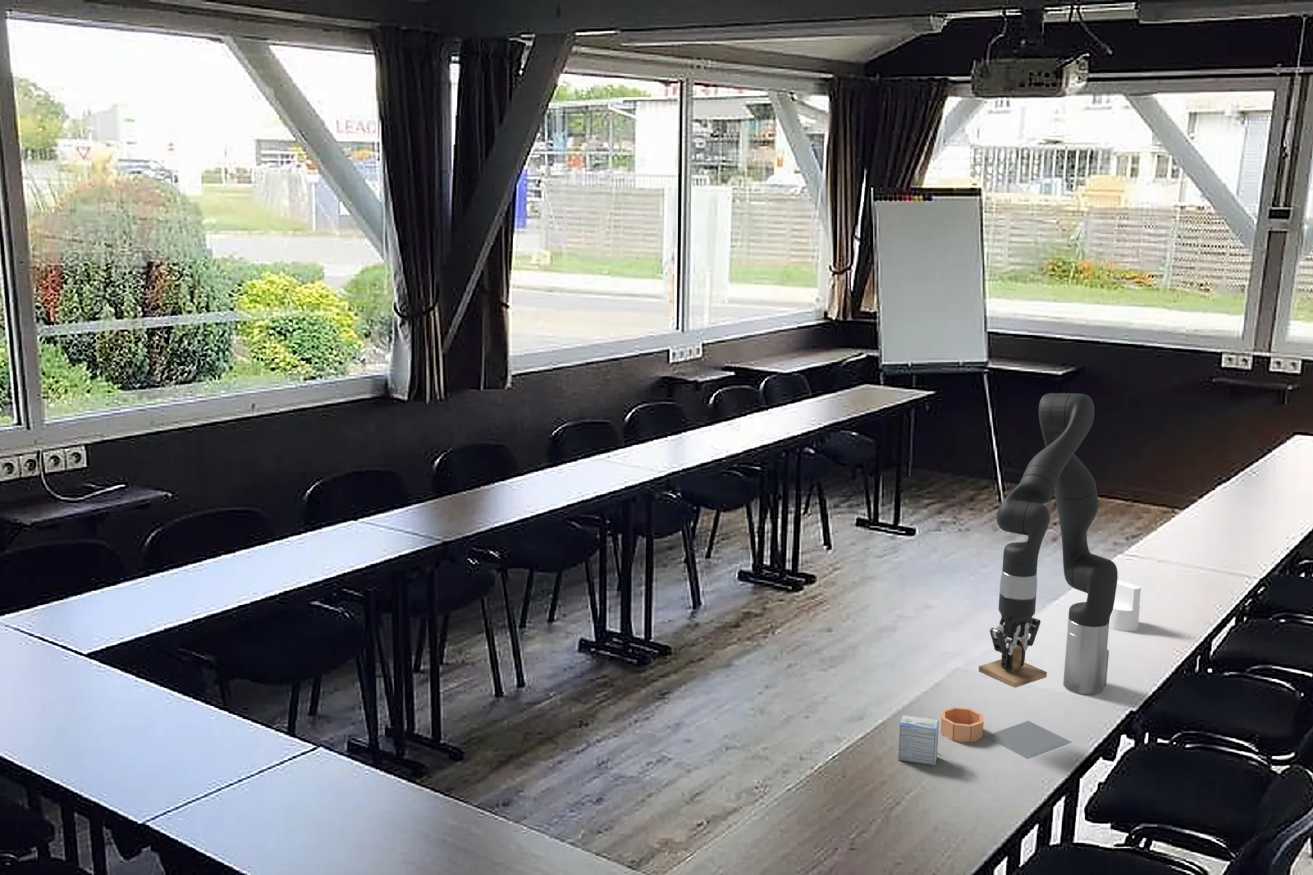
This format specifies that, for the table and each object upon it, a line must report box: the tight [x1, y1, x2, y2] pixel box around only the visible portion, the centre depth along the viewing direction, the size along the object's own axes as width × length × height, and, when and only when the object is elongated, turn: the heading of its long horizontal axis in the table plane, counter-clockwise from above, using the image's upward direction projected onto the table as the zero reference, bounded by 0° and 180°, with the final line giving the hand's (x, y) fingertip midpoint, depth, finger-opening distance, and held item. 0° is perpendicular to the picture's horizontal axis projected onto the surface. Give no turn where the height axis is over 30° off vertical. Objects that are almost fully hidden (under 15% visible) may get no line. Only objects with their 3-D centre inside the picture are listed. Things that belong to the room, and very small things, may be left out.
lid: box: [978, 644, 1048, 689], centre depth 257 cm, size 10×10×6 cm
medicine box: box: [897, 714, 940, 766], centre depth 253 cm, size 8×4×9 cm, turn 71°
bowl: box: [940, 706, 984, 743], centre depth 264 cm, size 9×9×4 cm
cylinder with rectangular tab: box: [1109, 579, 1142, 632], centre depth 325 cm, size 9×9×12 cm
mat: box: [984, 720, 1072, 759], centre depth 261 cm, size 14×12×1 cm
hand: (1012, 667), depth 257 cm, fingers closed on lid, 3 cm apart
